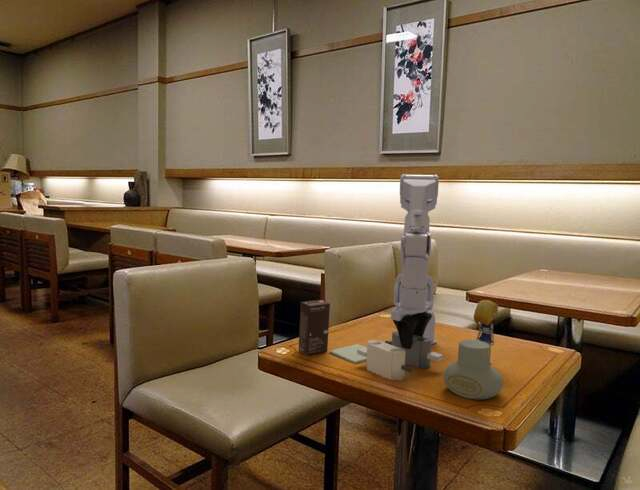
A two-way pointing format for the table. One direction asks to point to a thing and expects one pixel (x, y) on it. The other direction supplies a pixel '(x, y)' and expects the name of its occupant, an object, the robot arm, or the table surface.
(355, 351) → the sage pad
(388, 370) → the white plug
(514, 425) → the table surface
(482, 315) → the figurine
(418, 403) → the table surface
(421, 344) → the charcoal plug
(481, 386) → the air freshener
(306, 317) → the box
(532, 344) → the table surface
